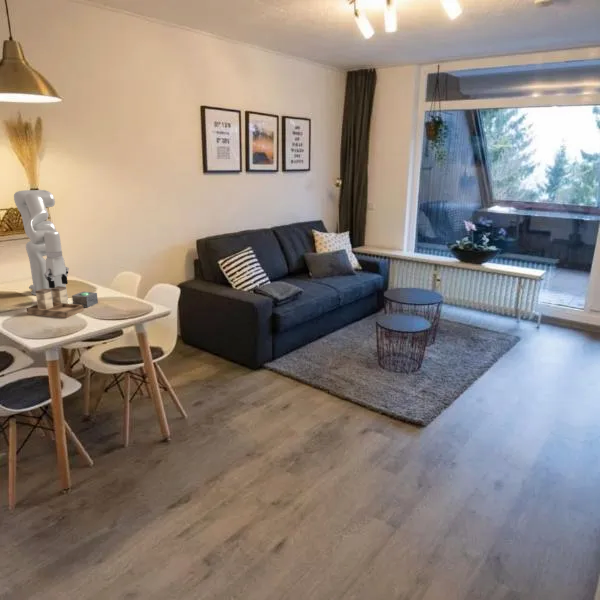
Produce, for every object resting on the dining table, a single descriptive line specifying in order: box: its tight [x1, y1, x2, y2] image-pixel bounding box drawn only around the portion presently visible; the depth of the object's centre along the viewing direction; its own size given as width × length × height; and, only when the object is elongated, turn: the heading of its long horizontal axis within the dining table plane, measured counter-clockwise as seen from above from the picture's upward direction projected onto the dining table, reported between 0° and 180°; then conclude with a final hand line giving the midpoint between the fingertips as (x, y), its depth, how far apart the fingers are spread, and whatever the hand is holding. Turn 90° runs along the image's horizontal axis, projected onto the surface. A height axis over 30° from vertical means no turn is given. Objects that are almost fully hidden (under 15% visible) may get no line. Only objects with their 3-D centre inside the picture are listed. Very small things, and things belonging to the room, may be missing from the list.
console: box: [71, 291, 99, 309], centre depth 266 cm, size 9×9×6 cm
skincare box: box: [47, 275, 69, 302], centre depth 272 cm, size 8×7×16 cm
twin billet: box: [35, 288, 53, 310], centre depth 253 cm, size 5×5×10 cm
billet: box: [51, 286, 69, 304], centre depth 264 cm, size 5×5×10 cm
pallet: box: [26, 302, 85, 319], centre depth 253 cm, size 24×13×3 cm, turn 76°
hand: (58, 285), depth 262 cm, fingers open, 9 cm apart
